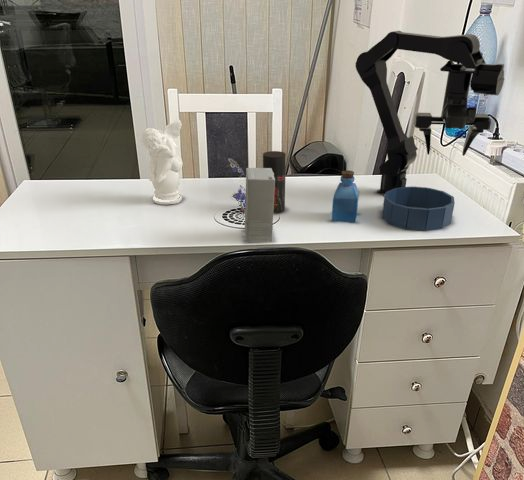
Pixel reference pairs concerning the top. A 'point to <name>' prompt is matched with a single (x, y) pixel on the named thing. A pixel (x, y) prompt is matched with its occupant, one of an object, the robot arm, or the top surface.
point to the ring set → (239, 189)
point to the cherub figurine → (164, 161)
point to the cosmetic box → (259, 204)
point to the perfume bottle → (345, 199)
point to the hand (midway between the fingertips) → (445, 154)
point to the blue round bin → (418, 208)
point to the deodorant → (277, 177)
